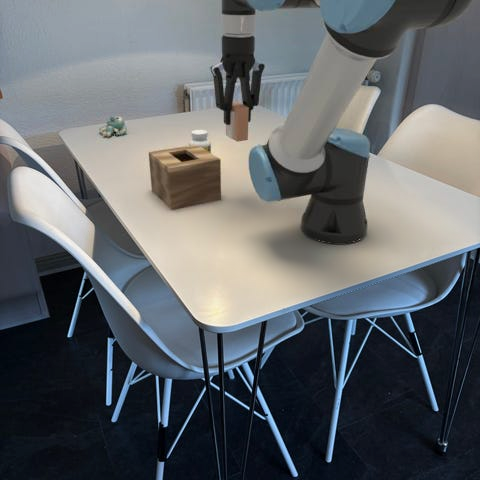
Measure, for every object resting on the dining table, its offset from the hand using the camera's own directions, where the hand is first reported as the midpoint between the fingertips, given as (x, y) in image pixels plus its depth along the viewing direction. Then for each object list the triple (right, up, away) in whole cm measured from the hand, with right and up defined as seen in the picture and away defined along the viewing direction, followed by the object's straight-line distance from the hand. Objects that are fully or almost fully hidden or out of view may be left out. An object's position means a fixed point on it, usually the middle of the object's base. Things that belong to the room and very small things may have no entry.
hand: (237, 135), depth 123 cm
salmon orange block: (0, 0, 0) cm, 1 cm away
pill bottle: (-11, -5, +27) cm, 30 cm away
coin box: (-14, -14, +10) cm, 22 cm away
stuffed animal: (-46, +13, +60) cm, 77 cm away
